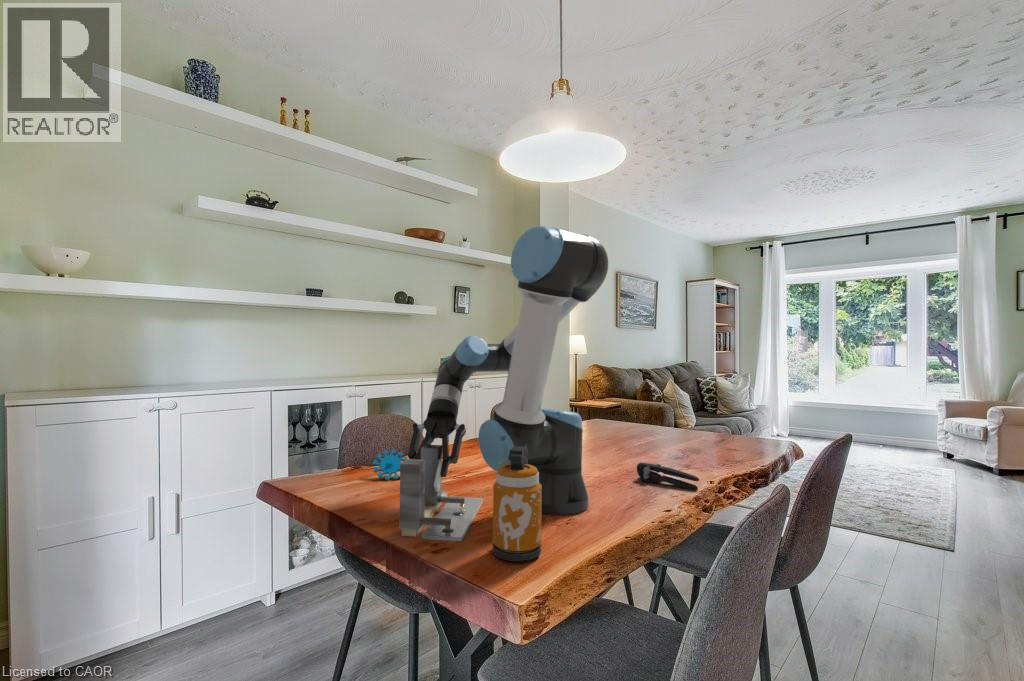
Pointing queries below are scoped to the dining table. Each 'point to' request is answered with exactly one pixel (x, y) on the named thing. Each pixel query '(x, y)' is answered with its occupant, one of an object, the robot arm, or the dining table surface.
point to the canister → (517, 508)
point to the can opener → (652, 476)
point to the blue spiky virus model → (389, 464)
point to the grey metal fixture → (416, 500)
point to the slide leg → (431, 464)
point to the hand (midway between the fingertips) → (425, 488)
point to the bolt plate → (454, 520)
